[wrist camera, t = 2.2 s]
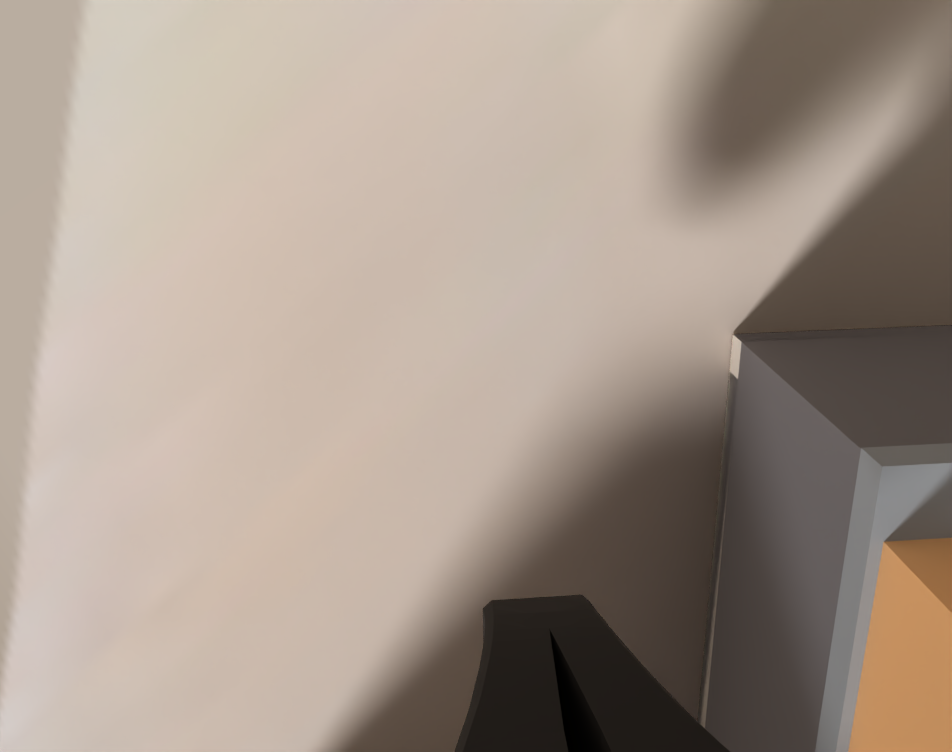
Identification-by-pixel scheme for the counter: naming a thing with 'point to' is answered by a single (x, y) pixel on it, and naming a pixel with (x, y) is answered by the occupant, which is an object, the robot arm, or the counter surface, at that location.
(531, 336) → the counter surface
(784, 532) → the grey box
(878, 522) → the box lid
